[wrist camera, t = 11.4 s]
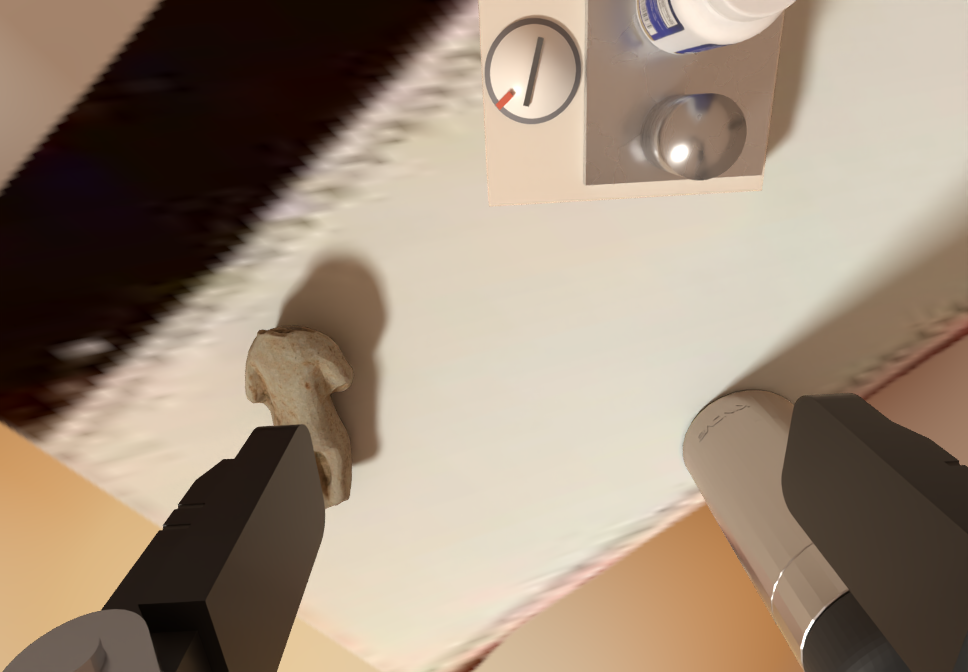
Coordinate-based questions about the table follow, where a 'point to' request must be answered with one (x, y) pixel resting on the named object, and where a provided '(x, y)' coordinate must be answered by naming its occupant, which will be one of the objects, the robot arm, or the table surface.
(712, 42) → the pill bottle
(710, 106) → the cylinder
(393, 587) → the table surface
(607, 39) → the scale pan
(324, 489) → the sculpture
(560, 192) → the scale housing
